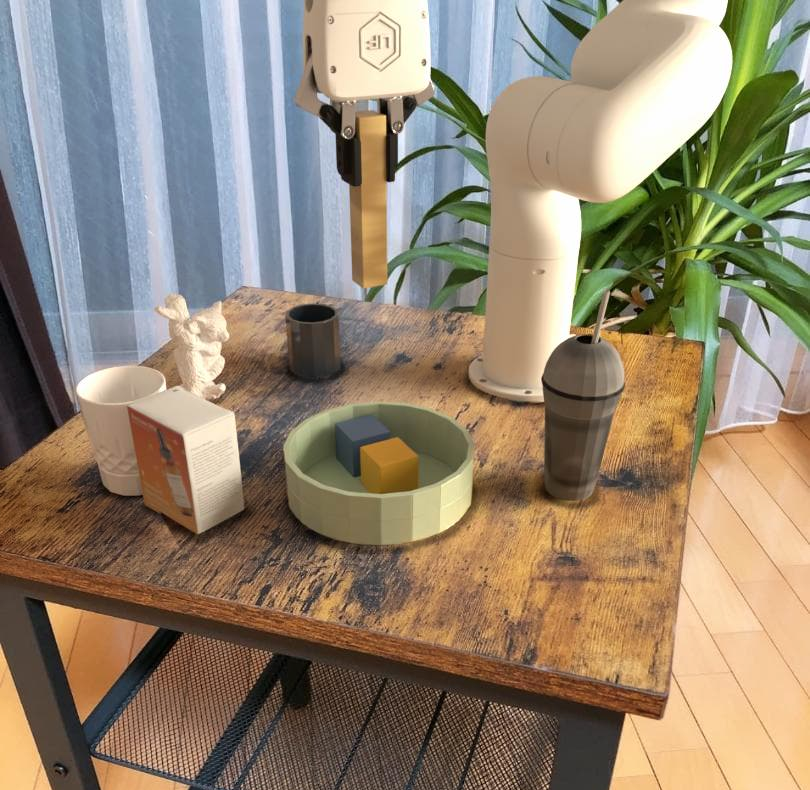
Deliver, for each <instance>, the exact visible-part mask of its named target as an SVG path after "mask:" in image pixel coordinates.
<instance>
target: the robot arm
mask: <svg viewBox="0 0 810 790" xmlns="http://www.w3.org/2000/svg"><path fill="white" fill-rule="evenodd" d="M728 2H729V0H622V1H620V2H619V4H617V6H615V7H614V8H613V9H612V10H611V11H609V12H608V13H607V14H606V15H605V16H604V17H602V18H601V20H599V21H598V22H597V23H596V24H594V26H592V28H591V29H590V30H589V31H588V32H587V33H586V35H584V37H583V38H582V39H581V41H580V43H579V44H578V46H577V47H576V49H575V51H574V54H573V56H572V60H571V63H570V64H571V65H570V79H571V81H570V80H566V79H561V78H556V77H552V76H542V75H535V76H534V75H533V76H527V77H522V78H520V79H518V80H515V81H513V82H512V83H510V84H509V85H507V86H506V87H505V88H504V89H503V90H502V91H501V92H500V93H499V94H498V96H497V97H496V98H495V100H494V101H493V104H492V105H491V108H490V111H489V113H488V117H487V121H486V126H485V152H486V153H485V154H486V161H487V167H488V168H487V170H488V175H489V186H490V226H489V228H490V230H489V244H488V258H487V259H488V261H487V276H486V278H487V279H486V281H487V282H486V294H485V295H486V297H485V313H484V331H483V347H482V348H483V349H482V354H481V355H478V357H476V358H474V359H473V361H471V363H470V364H469V366H468V379H469V381H470V383H471V384H472V385H473V386H475V388H477V389H479V390H480V391H482V392H484V393H486V394H488V395H491V396H494V397H497V398H500V399H501V398H502V399H505V400H508V401H515V402H527V403H528V402H534V404H538V403H540V404H541V403H544V397H543V388H542V387H543V385H542V381H541V378H542V375H543V373H544V368H545V365H546V363H547V361H548V359H549V357H550V355H551V353H552V352H553V350H554V349H555V348H556V347H557V346H558V345H559V344H560V343H562V342H563V341H565V340H566V339H568V338H570V337H573V336H576V334H575V333H570V331H571V323H572V313H573V305H574V297H575V290H576V280H577V279H576V278H577V271H578V262H579V254H580V248H581V240H582V239H581V238H582V213H581V207H580V200H581V201H583V202H588V203H593V204H606V203H610V202H614V201H616V200H619V199H620V198H622V197H624V196H626V195H627V194H628V193H630V192H631V191H633V190H634V189H635V188H636V187H637V186H639V185H640V184H641V183H643V182H644V180H646V179H647V178H648V177H649V176H650V175H651V174H652V173H654V171H656V170H657V169H658V168H659V167H660V166H662V164H663V163H664V162H666V160H667V159H669V158H670V157H671V156H672V155H673V154H674V153H676V152H677V151H678V149H680V148H681V147H682V146H683V145H684V144H685V143H687V141H689V139H691V138H692V136H694V135H695V134H696V133H697V132H699V130H700V129H701V128H702V127H703V126H704V125H705V124H706V123H707V121H708V120H709V119H710V118H711V117H712V115H713V114H714V112H715V111H716V109H717V108H718V107H719V105H720V103H721V101H722V99H723V97H724V95H725V93H726V90H727V88H728V86H729V82H730V78H731V75H732V69H733V51H732V46H731V43H730V40H729V38H728V36H727V34H726V32H725V31H724V30H723V29H722V27H720V25H721V23H722V22H723V20H724V18H725V15H726V12H727V7H728ZM302 12H303V14H302V15H303V16H302V65H303V71H302V76H301V78H300V81H299V83H298V87H297V90H296V92H295V95H294V98H293V99H294V101H293V103H294V105H295V106H296V107H297V108H299V109H301V110H303V111H305V112H307V113H310V114H312V115H314V116H317V117H318V118H319V119H320V120H321V121H322V122H323V123H324V124H325V125H326V126H327V127H328V128H329V130H330V131H331V132H332V133H333V134H335V157H336V158H335V159H336V160H335V161H336V162H335V163H336V171H337V173H338V175H340V179H341V180H342V181H343V182H345V183H346V184H348V185H349V184H350V185H351V186H353V187H357V186H360V184H362V163H361V141H360V139H359V138H357V137H356V134H355V112H356V108H357V106H356V103H357V101H364V100H376V108H377V109H376V111H377V112H379V113H381V114H384V115H386V181H387V183H394V182H395V180H396V170H397V169H398V166H399V134H401V133H402V132H403V131H404V127H405V123H406V122H407V121H408V119H409V118H410V117H411V116H412V114H413V113H414V112H415V110H416V108H418V107H420V106H422V105H423V104H425V103H426V102H427V101H429V100H430V99H431V98H434V95H435V94H436V93H435V92H436V90H435V86H434V85H433V82H432V79H431V34H430V33H431V32H430V18H429V17H430V16H429V6H428V0H303V11H302ZM318 94H322V95H324V96H325V97H326V98H328V99H329V103H327V102H325V101H323V100H320V99H319V98H318Z"/></svg>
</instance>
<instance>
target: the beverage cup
mask: <svg viewBox="0 0 810 790" xmlns="http://www.w3.org/2000/svg"><path fill="white" fill-rule="evenodd" d="M610 294H611V291H610V290H609V289H604V290H603V294H602V297H601V300H600V305H599V309H598V314H597V318H596V322H595V324H594V325H595V326H594V330H593V334H590V333H584V334H583V333H582V334H577V335H576V334H575V335H576V336H573V337H570V338H568V339H566V340H565V341H563V342H562V343H560V344H559V345H558V346H557V347H556V348H555V349H554V350H553V352H552V353H551V355H550V357H549V359H548V361H547V363H546V365H545V368H544V373H543V375H542V378H541V381H542V385H543V387H542V388H543V397H544V402H543V403H544V447H543V448H544V450H543V451H544V452H543V453H544V454H543V455H544V456H543V457H544V458H543V477H544V487H545V490H546V491H547V493H548V494H549V495H550V496H553V498H556V499H559V500H562V501H568V502H569V501H571V502H575V501H582V500H585V499H588V498H589V497H590V496H592V495H593V493H594V491H595V487H596V486H597V483H598V480H599V479H598V478H599V475H600V472H601V466H602V463H603V460H604V454H605V451H606V447H607V443H608V439H609V435H610V432H611V427H612V423H613V419H614V415H615V411H616V410H617V408H618V405H619V402H620V400H621V398H622V394H623V393H624V390H625V388H626V380H625V367H624V364H623V361H622V358H621V356H620V353H619V352H618V350H617V349H616V348H615V346H614V345H613V344H611V342H609V341H608V340H606V339H605V338H603V337H601V336H600V335H601V330H602V326H603V323H604V322H603V321H604V317H605V314H606V310H607V305H608V302H609V298H610Z"/></svg>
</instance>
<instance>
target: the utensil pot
mask: <svg viewBox="0 0 810 790" xmlns="http://www.w3.org/2000/svg"><path fill="white" fill-rule="evenodd" d="M339 314H340V313H339V310H338V309H337V308H336V307H335V306H332V305H328V304H325V303H304V304H298V305H294V306H292V307H290V308H289V309H288V310H286V311H285V329H286V342H287V351H288V352H287V354H288V368H289V370H290V371H291V372H292V373H293V374H294V375H297V376H299V377H303V378H318V377H326V376H329V375H332V374H336V373H337V372H339V371H340V369H341V365H342V362H341V338H340V337H341V335H340V315H339Z"/></svg>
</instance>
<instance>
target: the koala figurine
mask: <svg viewBox="0 0 810 790" xmlns="http://www.w3.org/2000/svg"><path fill="white" fill-rule="evenodd" d="M164 304H165V307H163V306H161V305H157V306H155V307H154V311H155V312H156V313H158V314H159V316H162V317H164V318H165V319H167V320H168V332H169V333H168V334H169V338H170V339H171V340H172V341H173V342H175V343H178V344H177V345H178V346H177V347H176V348H175V349H174V351H173V357H174V363H175V365H176V367H177V370H178V375H179V378H180V380H181V381H182V383H180V385H179V386H180V387H182V388H184V389H185V390H187V391H189V392H191V393H193V394H195V395H197V396H199V397H201V398H203V399H205V400H207V399H217V398H220V396H222V395H223V394H224V392H225V391H226V389H227V388H226V385H225V383H222V382H221V383H217V384H215V382H214V380H216V378H217V377H218V376H220V375H221V373H222V372H223V370H224V367H225V364H226V360H225V357H224V356H223V355H221V351H222V348H223V345H222V343H225V342H227V341H229V339H230V334H229V332H228V330H227V325H228V323H227V320H226V318H225V317H224V315H223V314H222V307H223V301H221V300H219V301H215V302H213V304H212V305H211V306H210V307H209V308H204V309H201V310H198V311H196V313H194V314H193V316H192V317H191V316H190V312H189V310H188V306H187V303H186V299H185V298H184V296H183V295H181V294H178V293H173V292H171V293H168V294H167V295H166V296H165V298H164Z"/></svg>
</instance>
